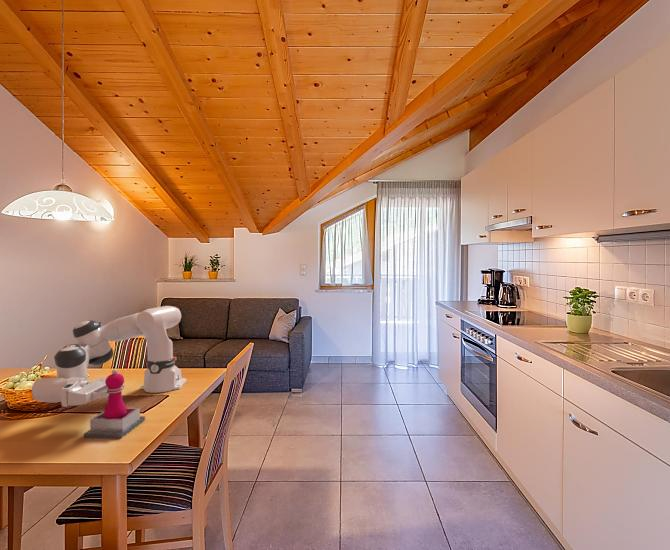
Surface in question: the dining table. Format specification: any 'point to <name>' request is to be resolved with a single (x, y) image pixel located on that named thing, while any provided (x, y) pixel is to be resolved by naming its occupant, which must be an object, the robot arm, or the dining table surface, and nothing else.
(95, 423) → the socket stand
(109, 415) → the pepper mill
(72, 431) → the dining table surface
